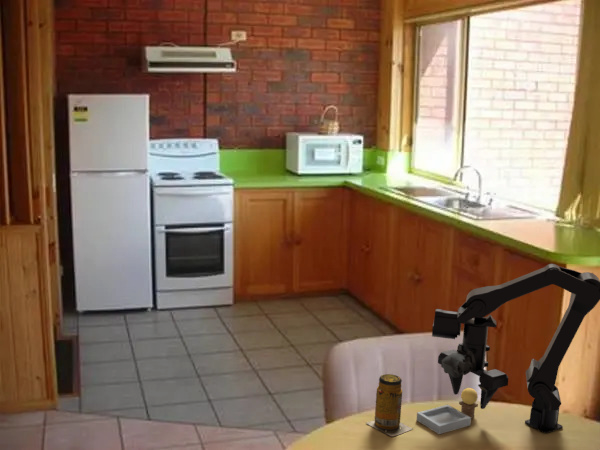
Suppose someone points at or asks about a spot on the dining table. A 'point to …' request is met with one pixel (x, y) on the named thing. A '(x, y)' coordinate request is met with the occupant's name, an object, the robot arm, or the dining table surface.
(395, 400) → the condiment
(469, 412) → the egg cup
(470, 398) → the ball
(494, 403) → the dining table surface
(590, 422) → the dining table surface
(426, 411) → the tray
